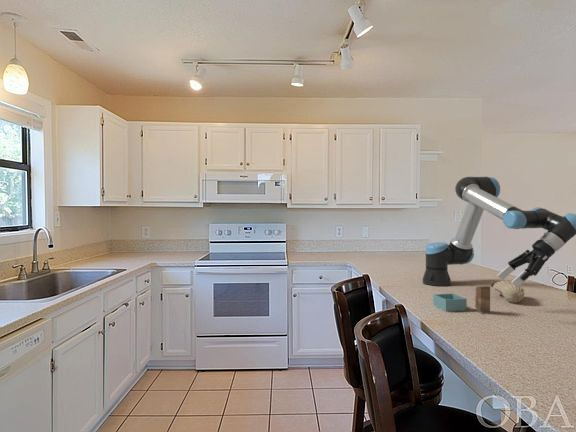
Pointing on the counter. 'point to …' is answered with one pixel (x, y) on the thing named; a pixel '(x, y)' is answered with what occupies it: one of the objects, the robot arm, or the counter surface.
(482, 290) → the wooden post on plate
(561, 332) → the counter surface
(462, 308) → the teal storage bin
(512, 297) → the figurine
